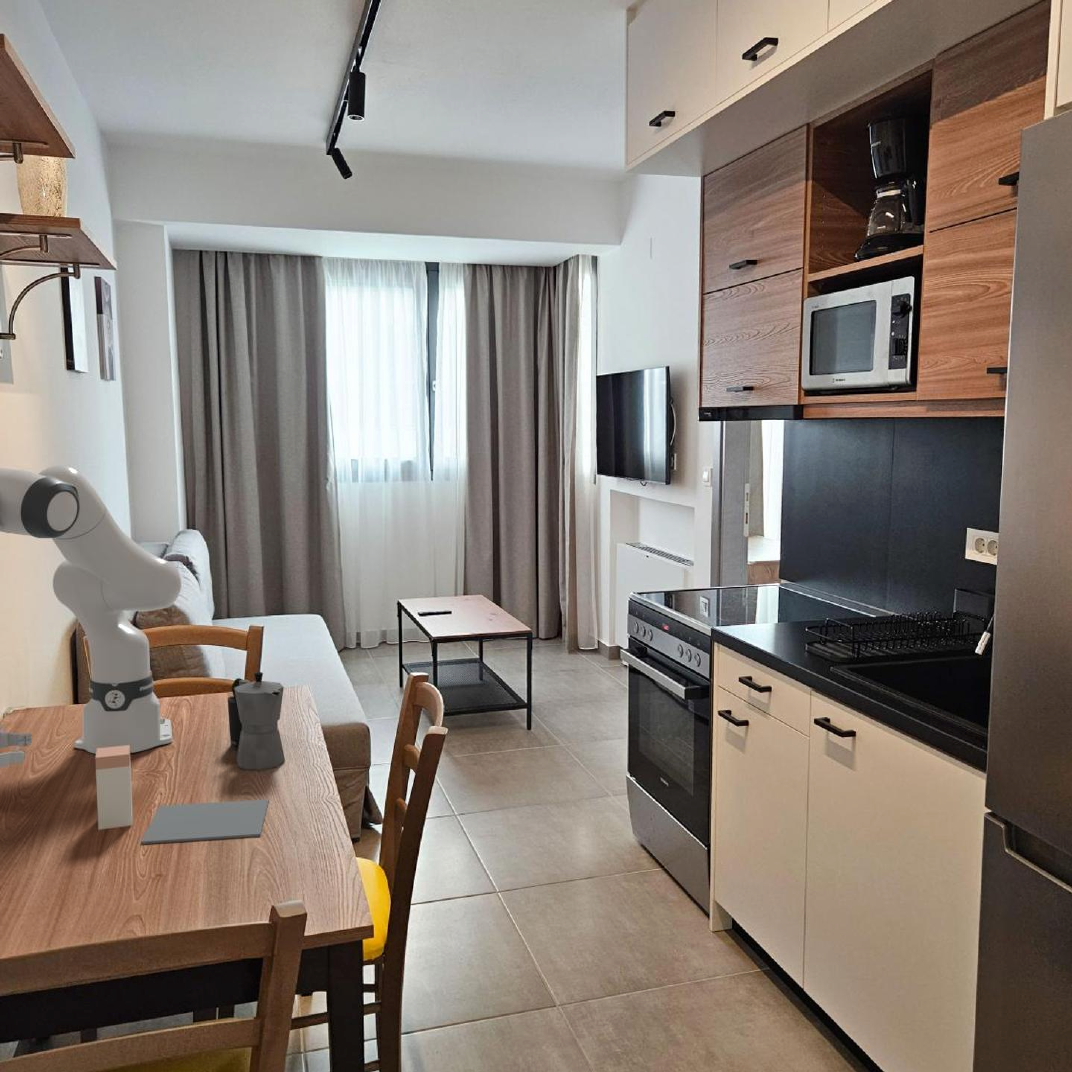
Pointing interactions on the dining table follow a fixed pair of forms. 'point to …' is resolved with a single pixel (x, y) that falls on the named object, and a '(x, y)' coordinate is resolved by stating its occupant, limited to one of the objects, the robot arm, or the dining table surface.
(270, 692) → the coffeepot
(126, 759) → the pillar
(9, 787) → the dining table surface
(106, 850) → the dining table surface
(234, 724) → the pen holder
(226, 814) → the mat
